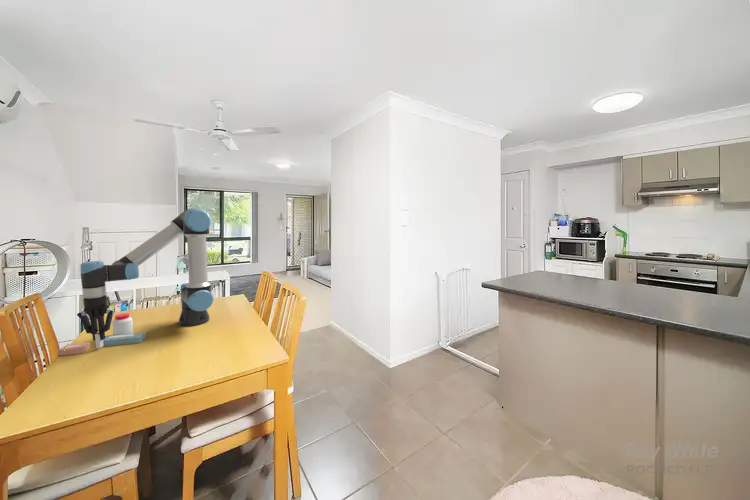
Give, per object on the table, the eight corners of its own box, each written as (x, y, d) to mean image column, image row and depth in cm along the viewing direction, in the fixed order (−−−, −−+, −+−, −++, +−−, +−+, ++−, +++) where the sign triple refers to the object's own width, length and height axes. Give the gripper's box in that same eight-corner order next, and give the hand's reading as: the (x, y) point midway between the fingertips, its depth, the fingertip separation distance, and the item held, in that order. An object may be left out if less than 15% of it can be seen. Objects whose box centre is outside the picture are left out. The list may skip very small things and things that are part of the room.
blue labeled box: (146, 337, 146) (145, 332, 146) (139, 342, 140) (139, 337, 140) (106, 340, 141) (106, 335, 141) (98, 346, 135) (97, 341, 134)
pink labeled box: (90, 347, 134) (89, 342, 133) (82, 353, 128) (81, 347, 128) (68, 349, 131) (67, 344, 131) (58, 355, 125) (58, 349, 125)
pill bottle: (137, 334, 150) (135, 313, 148) (119, 340, 142) (118, 318, 141) (127, 332, 152) (125, 311, 151) (109, 337, 145) (107, 316, 144)
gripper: (117, 293, 135) (121, 341, 138) (81, 295, 131) (87, 345, 134) (108, 297, 128) (113, 348, 131) (70, 299, 124) (76, 352, 127)
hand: (99, 346), depth 132 cm, fingers closed
